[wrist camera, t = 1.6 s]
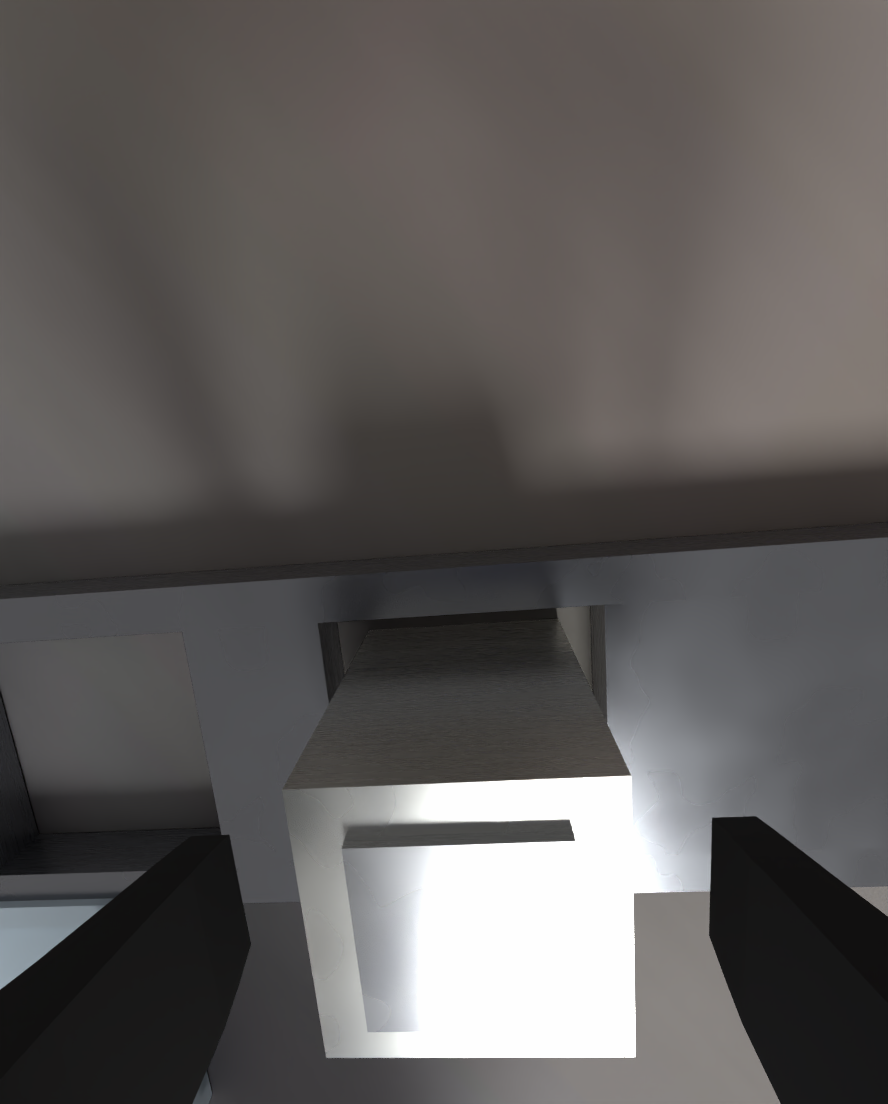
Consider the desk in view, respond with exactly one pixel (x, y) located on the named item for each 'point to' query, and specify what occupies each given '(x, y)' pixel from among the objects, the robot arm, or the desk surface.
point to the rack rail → (618, 686)
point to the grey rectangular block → (466, 851)
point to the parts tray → (48, 940)
